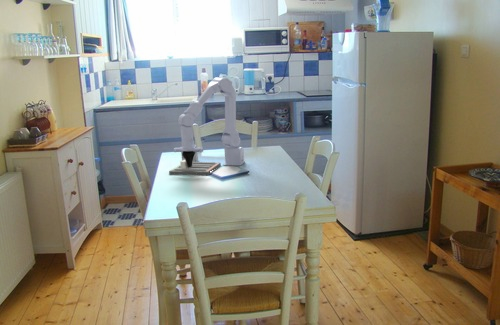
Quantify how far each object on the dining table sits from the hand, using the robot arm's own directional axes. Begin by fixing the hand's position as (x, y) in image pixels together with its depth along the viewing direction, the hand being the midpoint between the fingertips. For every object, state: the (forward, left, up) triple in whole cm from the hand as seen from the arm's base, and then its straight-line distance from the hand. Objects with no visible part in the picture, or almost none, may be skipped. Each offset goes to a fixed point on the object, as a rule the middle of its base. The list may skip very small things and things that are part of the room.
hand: (189, 166), depth 222 cm
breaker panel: (-1, -4, -3) cm, 5 cm away
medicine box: (+9, -21, -3) cm, 23 cm away
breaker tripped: (+3, 0, -1) cm, 3 cm away
